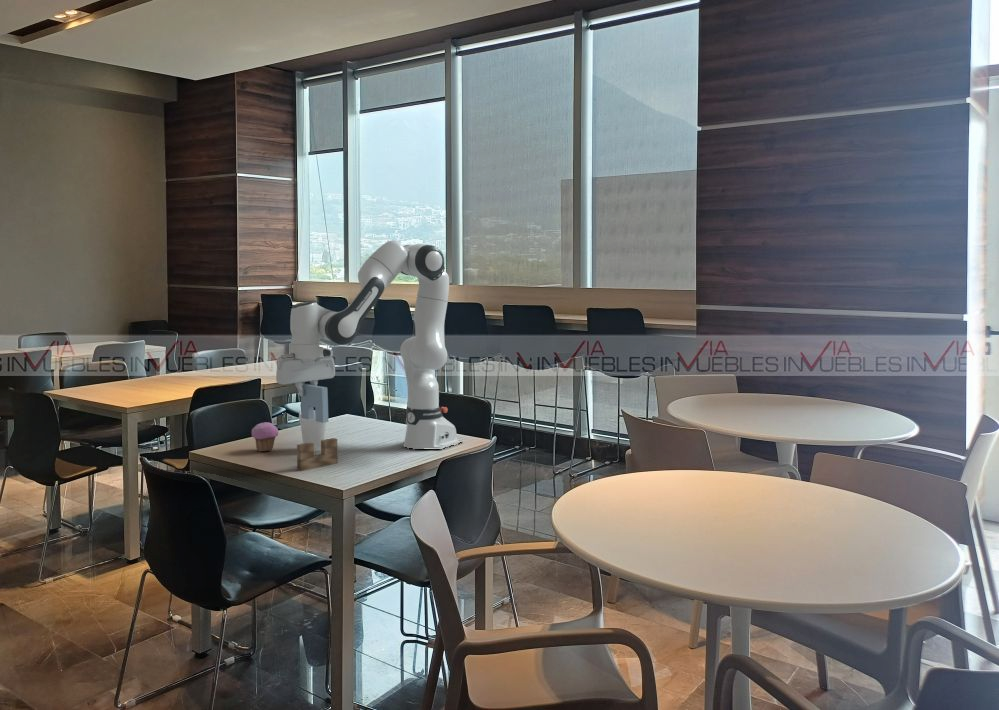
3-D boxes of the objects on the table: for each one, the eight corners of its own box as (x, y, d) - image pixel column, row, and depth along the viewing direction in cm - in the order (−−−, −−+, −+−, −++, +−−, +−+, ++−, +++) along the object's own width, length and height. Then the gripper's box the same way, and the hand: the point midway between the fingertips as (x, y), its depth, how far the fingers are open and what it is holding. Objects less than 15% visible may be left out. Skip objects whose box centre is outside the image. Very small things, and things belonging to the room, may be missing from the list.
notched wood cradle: (334, 461, 257) (333, 438, 256) (337, 462, 256) (337, 438, 255) (297, 469, 247) (296, 444, 246) (301, 470, 245) (300, 445, 244)
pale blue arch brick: (301, 417, 254) (300, 384, 252) (306, 417, 255) (305, 383, 254) (323, 422, 246) (322, 388, 244) (328, 422, 247) (327, 387, 246)
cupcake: (274, 446, 278) (273, 419, 277) (281, 451, 270) (281, 423, 269) (248, 449, 273) (247, 421, 272) (255, 454, 266) (255, 426, 264)
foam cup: (330, 446, 279) (330, 410, 277) (322, 452, 270) (321, 415, 268) (305, 445, 280) (304, 410, 278) (295, 451, 270) (295, 414, 269)
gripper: (282, 356, 241) (284, 400, 242) (337, 350, 256) (338, 392, 257) (271, 354, 245) (272, 398, 247) (326, 349, 260) (327, 390, 262)
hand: (306, 395), depth 252 cm, fingers closed on pale blue arch brick, 2 cm apart
